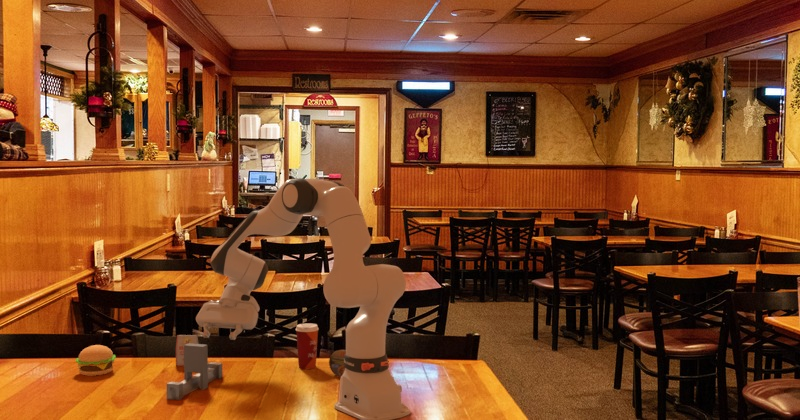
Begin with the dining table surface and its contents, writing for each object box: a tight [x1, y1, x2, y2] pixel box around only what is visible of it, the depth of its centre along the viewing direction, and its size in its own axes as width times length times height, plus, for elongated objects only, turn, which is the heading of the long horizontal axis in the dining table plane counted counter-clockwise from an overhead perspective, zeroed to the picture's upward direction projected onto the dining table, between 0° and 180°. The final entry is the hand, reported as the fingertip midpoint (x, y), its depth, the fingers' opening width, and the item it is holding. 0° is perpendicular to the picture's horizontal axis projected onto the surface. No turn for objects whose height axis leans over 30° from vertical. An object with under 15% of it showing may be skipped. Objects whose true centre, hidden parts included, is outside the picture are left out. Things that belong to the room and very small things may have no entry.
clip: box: [183, 343, 209, 391], centre depth 223 cm, size 6×3×13 cm, turn 73°
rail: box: [166, 361, 223, 401], centre depth 223 cm, size 24×4×4 cm, turn 163°
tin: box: [328, 349, 346, 378], centre depth 235 cm, size 15×3×8 cm, turn 62°
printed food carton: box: [175, 334, 200, 367], centre depth 249 cm, size 4×7×10 cm, turn 88°
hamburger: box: [75, 344, 117, 377], centre depth 239 cm, size 12×12×9 cm
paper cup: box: [295, 322, 320, 370], centre depth 246 cm, size 8×8×14 cm
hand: (218, 337), depth 235 cm, fingers open, 8 cm apart
